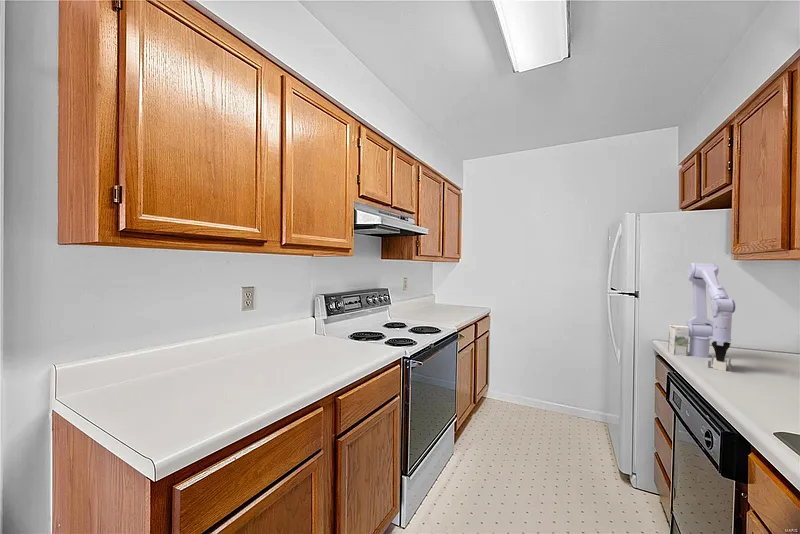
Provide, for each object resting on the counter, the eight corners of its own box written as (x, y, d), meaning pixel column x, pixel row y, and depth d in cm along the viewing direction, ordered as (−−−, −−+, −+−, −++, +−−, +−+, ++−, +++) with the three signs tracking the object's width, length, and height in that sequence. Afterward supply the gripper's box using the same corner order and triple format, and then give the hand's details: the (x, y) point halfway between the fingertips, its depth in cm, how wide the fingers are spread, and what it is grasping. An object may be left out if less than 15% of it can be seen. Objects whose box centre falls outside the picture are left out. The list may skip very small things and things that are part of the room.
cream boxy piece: (712, 363, 161) (712, 353, 160) (730, 366, 156) (731, 356, 156) (711, 364, 158) (711, 354, 158) (730, 367, 154) (730, 357, 154)
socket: (708, 367, 154) (708, 360, 154) (731, 371, 149) (731, 364, 149) (707, 367, 153) (708, 361, 153) (731, 372, 148) (731, 365, 148)
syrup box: (681, 354, 177) (682, 324, 176) (687, 357, 171) (689, 326, 170) (667, 353, 178) (669, 323, 178) (673, 356, 172) (675, 325, 172)
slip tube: (714, 364, 158) (715, 349, 157) (727, 366, 155) (727, 351, 155) (712, 368, 152) (713, 353, 152) (725, 370, 149) (726, 355, 149)
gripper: (710, 324, 160) (709, 354, 161) (707, 328, 150) (706, 361, 150) (732, 326, 155) (731, 358, 156) (731, 331, 145) (729, 365, 146)
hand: (720, 360), depth 153 cm, fingers closed on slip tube, 3 cm apart
